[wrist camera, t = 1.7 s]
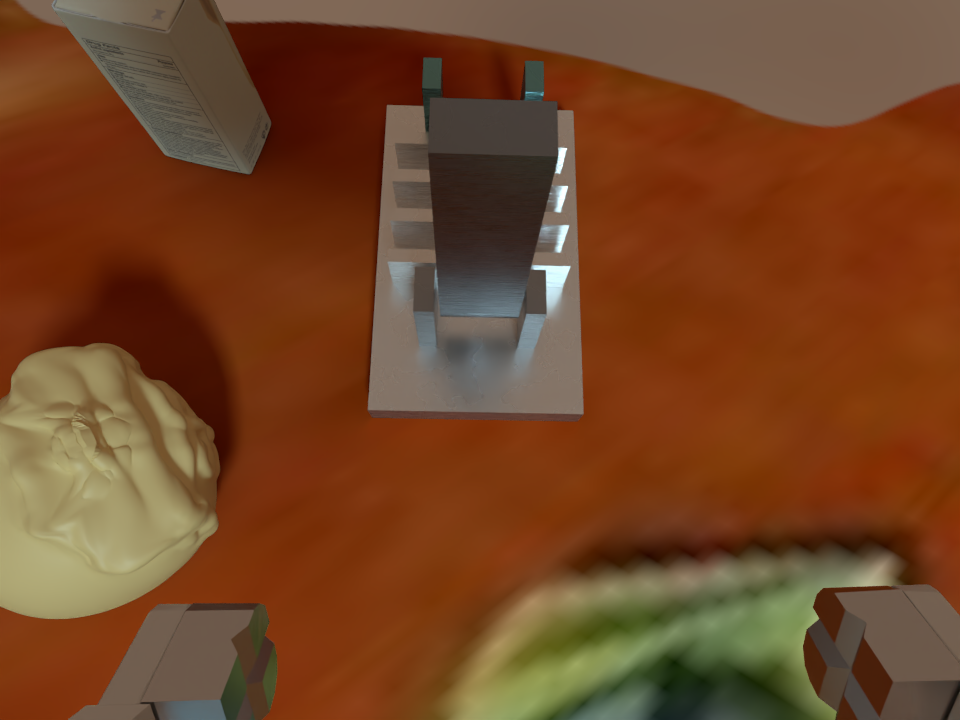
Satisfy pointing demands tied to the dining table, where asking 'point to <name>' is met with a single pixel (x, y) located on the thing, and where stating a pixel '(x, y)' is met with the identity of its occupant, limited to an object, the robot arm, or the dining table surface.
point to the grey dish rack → (471, 340)
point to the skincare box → (175, 75)
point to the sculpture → (97, 483)
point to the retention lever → (488, 199)
